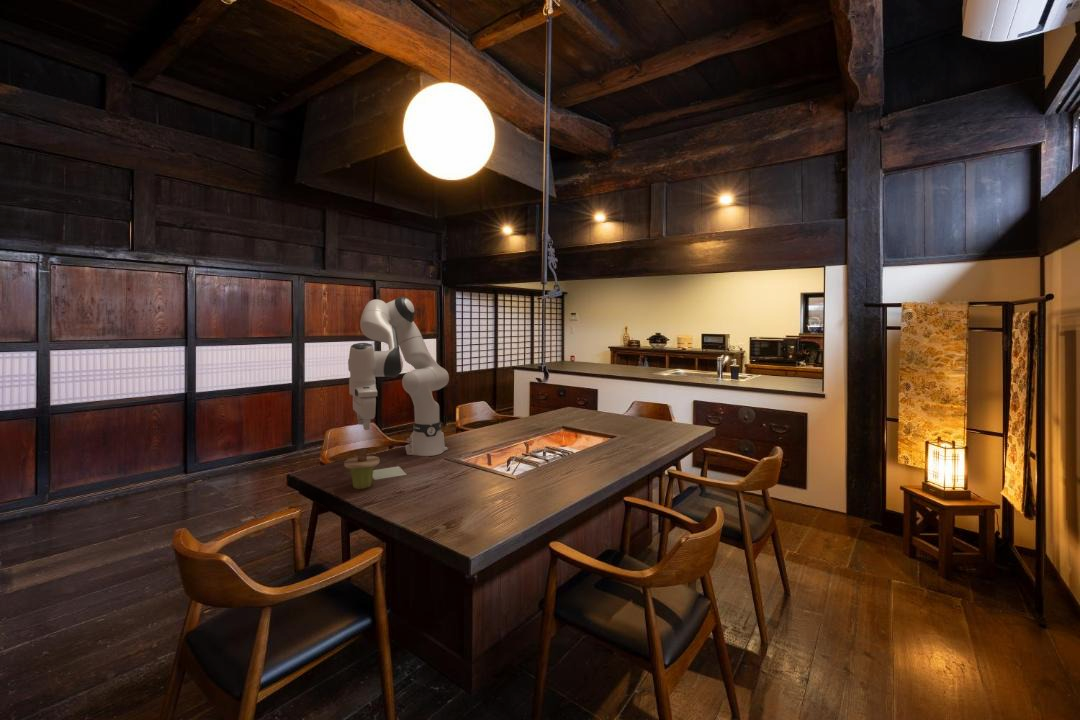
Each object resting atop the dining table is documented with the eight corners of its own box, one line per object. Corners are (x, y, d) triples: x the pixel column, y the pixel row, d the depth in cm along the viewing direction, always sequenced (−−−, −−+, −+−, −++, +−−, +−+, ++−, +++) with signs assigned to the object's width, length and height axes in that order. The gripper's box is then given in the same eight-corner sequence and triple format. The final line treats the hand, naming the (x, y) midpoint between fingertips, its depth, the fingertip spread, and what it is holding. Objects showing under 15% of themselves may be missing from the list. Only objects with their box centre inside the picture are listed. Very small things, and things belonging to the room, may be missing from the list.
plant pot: (372, 481, 176) (372, 458, 175) (379, 488, 168) (378, 465, 167) (346, 485, 171) (345, 462, 170) (351, 493, 163) (351, 469, 162)
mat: (368, 472, 185) (368, 470, 185) (399, 467, 192) (398, 466, 192) (374, 481, 175) (374, 479, 175) (406, 476, 181) (406, 474, 181)
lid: (342, 462, 171) (341, 448, 170) (375, 457, 177) (375, 443, 176) (347, 470, 160) (346, 456, 160) (383, 465, 167) (382, 451, 166)
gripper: (347, 385, 173) (348, 422, 174) (359, 393, 156) (360, 434, 157) (365, 384, 176) (366, 420, 178) (378, 392, 159) (379, 431, 160)
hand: (363, 426), depth 167 cm, fingers open, 8 cm apart
